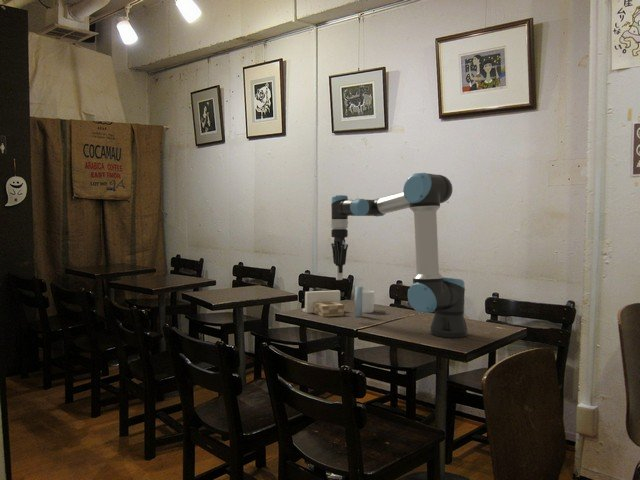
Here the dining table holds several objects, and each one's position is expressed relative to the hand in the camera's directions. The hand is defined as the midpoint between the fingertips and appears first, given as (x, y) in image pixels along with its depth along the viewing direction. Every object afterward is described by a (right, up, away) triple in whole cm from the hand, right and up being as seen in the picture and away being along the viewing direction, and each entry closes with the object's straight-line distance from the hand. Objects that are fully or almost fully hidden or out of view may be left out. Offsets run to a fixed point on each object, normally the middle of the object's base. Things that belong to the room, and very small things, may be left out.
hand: (339, 279), depth 245 cm
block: (-5, -17, +11) cm, 21 cm away
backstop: (-8, -17, +18) cm, 26 cm away
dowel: (+9, -18, +6) cm, 21 cm away
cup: (+15, -17, +21) cm, 31 cm away
